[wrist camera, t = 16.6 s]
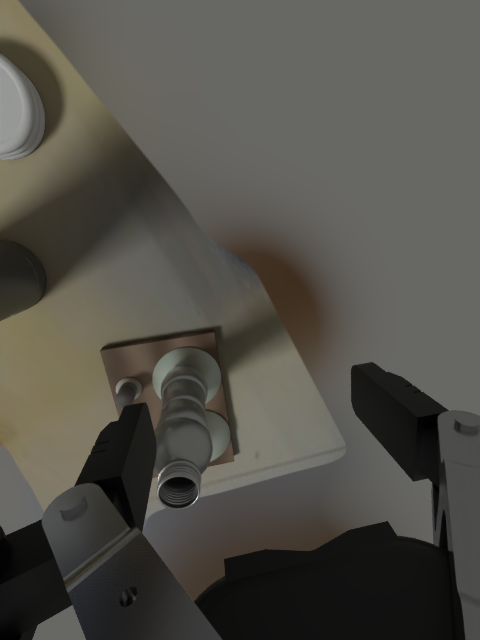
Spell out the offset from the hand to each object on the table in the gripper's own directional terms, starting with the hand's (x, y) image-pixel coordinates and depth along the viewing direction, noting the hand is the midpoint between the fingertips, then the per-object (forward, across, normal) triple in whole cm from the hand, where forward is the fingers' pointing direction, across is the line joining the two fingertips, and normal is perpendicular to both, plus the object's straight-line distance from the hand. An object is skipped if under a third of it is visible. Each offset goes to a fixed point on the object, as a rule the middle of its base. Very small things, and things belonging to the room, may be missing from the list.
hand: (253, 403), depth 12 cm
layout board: (+32, +9, +19) cm, 38 cm away
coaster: (+33, +21, -22) cm, 45 cm away
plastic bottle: (+31, +6, +14) cm, 35 cm away
